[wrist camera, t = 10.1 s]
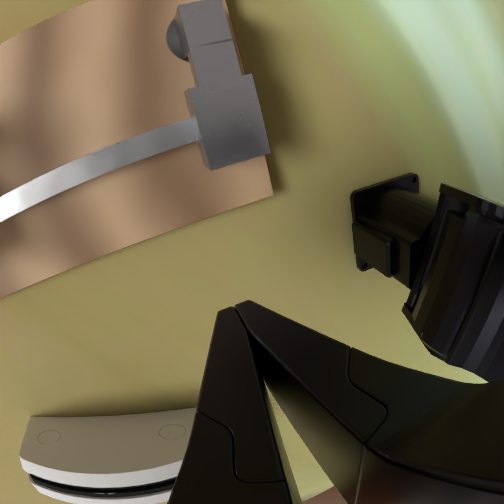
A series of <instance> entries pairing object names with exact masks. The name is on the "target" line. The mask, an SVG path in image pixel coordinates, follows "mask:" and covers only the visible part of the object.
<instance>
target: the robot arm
mask: <svg viewBox="0 0 504 504" xmlns="http://www.w3.org/2000/svg"><path fill="white" fill-rule="evenodd" d="M412 178H413V180H412ZM439 192H440V196H439V200H438V201H437V200H435V199H432V198H430V197H427V196H424V195H422V194H419V181H418V176H417V175H416V174H414V173H408V174H405V175H402V176H399V177H395V178H392V179H389V180H386V181H383V182H380V183H376V184H373V185H370V186H367V187H364V188H361V189H358V190H355V191H353V192H352V193H351V196H350V201H351V210H352V219H353V222H352V231H353V241H354V252H355V254H356V263H357V268H358V269H359V270H361V271H366V270H369V269H371V268H373V267H374V268H375V269H377V270H378V271H379V272H381V273H382V274H383V275H385V276H386V277H388V278H390V277H394V278H395V279H397V280H398V281H399V282H401V283H402V284H403V285H405V286H406V287H407V288H409V289H410V290H411V291H410V294H409V296H408V299H407V302H406V303H404V306H403V308H402V312H403V313H404V315H405V316H406V318H407V319H408V321H409V322H410V324H411V326H412V327H413V329H414V330H415V332H416V333H417V335H418V336H419V338H420V340H421V341H422V343H423V344H424V346H425V347H426V348H427V350H428V351H429V352H430V354H431V355H433V356H435V357H437V358H439V359H441V360H443V361H444V362H446V363H447V364H449V365H452V366H456V367H460V368H463V369H465V370H467V371H470V372H472V373H474V374H476V375H478V376H479V377H481V378H483V379H484V380H486V381H487V382H489V383H484V384H472V383H464V382H459V381H455V380H451V379H447V378H443V377H439V376H436V375H432V374H428V373H424V372H421V371H417V370H414V369H410V368H407V367H403V366H400V365H397V364H394V363H391V362H388V361H385V360H382V359H380V358H377V357H375V356H372V355H369V354H367V353H365V352H362V351H360V350H358V349H355V348H350V346H348V345H346V344H344V343H341V342H339V341H337V340H335V339H332V338H330V337H328V336H326V335H324V334H321V333H319V332H317V331H315V330H313V329H310V328H308V327H306V326H304V325H302V324H300V323H297V322H295V321H293V320H291V319H289V318H287V317H285V316H282V315H280V314H278V313H276V312H274V311H272V310H270V309H268V308H265V307H263V306H261V305H259V304H257V303H255V302H253V301H251V300H247V301H244V302H241V303H239V304H236V305H235V307H228V308H225V309H223V310H220V311H218V313H217V317H216V321H215V325H214V330H213V334H212V339H211V343H210V348H209V352H208V357H207V361H206V366H205V370H204V375H203V379H202V384H201V389H200V393H199V398H198V403H197V407H196V411H197V412H196V413H195V416H194V421H193V426H192V430H191V434H190V438H189V442H188V446H187V449H186V452H185V455H184V458H183V461H182V464H181V467H180V470H179V473H178V475H177V478H176V481H175V483H174V486H173V489H172V492H171V494H170V497H169V500H168V502H167V504H302V501H301V498H300V495H299V492H298V489H297V485H296V482H295V479H294V476H293V473H292V470H291V467H290V463H289V460H288V457H287V454H286V451H285V447H284V444H283V441H282V438H281V435H280V431H279V428H278V425H277V421H276V418H275V415H274V412H273V408H272V405H271V402H270V398H269V395H268V392H267V389H266V386H265V383H266V385H267V387H268V389H269V390H270V392H271V393H272V395H273V397H274V398H275V400H276V401H277V403H278V404H279V406H280V407H281V409H282V410H283V412H284V413H285V415H286V416H287V418H288V419H289V421H290V422H291V424H292V425H293V427H294V428H295V430H296V431H297V433H298V434H299V436H300V437H301V439H302V440H303V442H304V443H305V444H306V446H307V447H308V449H309V450H310V452H311V453H312V455H313V456H314V457H315V459H316V460H317V462H318V463H319V465H320V466H321V467H322V469H323V470H324V472H325V473H326V474H327V476H328V477H329V479H330V480H331V481H332V483H333V484H334V485H335V487H336V488H337V490H338V491H339V492H340V493H341V495H342V496H343V498H344V499H345V500H346V502H347V503H348V504H504V205H502V204H500V203H497V202H495V201H492V200H489V199H487V198H484V197H482V196H479V195H476V194H473V193H470V192H467V191H464V190H461V189H458V188H455V187H452V186H449V185H446V184H443V183H441V185H440V189H439ZM358 195H359V198H358V200H356V197H357V196H358ZM363 264H364V265H363ZM362 265H363V266H362ZM264 382H265V383H264Z"/></svg>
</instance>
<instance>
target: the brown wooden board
mask: <svg viewBox="0 0 504 504" xmlns="http://www.w3.org/2000/svg"><path fill="white" fill-rule="evenodd" d="M195 1H201V0H93V1H90V2H87V3H85V4H82V5H80V6H77V7H75V8H72V9H70V10H67V11H65V12H63V13H60V14H58V15H56V16H54V17H51V18H49V19H47V20H45V21H43V22H41V23H39V24H37V25H35V26H33V27H31V28H29V29H27V30H25V31H23V32H21V33H19V34H18V35H16V36H14V37H12V38H10V39H9V40H7V41H5V42H3V43H2V44H0V197H1V196H2V195H4V194H6V193H8V192H10V191H12V190H13V189H15V188H17V187H19V186H21V185H23V184H25V183H27V182H29V181H31V180H33V179H35V178H37V177H39V176H41V175H43V174H45V173H47V172H49V171H51V170H53V169H55V168H58V167H60V166H62V165H64V164H66V163H68V162H71V161H73V160H75V159H78V158H80V157H82V156H85V155H87V154H89V153H92V152H94V151H97V150H99V149H101V148H104V147H106V146H109V145H112V144H114V143H117V142H119V141H122V140H125V139H127V138H130V137H133V136H136V135H138V134H141V133H144V132H147V131H150V130H153V129H156V128H159V127H162V126H165V125H168V124H171V123H174V122H177V121H181V120H184V119H187V118H191V117H190V114H189V110H188V106H187V103H186V99H185V95H184V92H185V91H186V90H187V89H188V88H192V87H196V86H195V82H194V78H193V74H192V71H191V67H190V63H189V59H188V58H186V59H184V57H183V54H182V50H181V46H180V42H179V38H178V34H177V31H176V27H175V23H174V17H175V13H176V10H177V7H178V5H180V4H185V3H190V2H195ZM222 3H223V7H224V10H225V14H226V18H227V21H228V25H229V29H230V33H231V36H232V40H233V44H234V48H235V51H236V55H237V59H238V63H239V67H240V71H241V75H245V72H244V68H243V64H242V60H241V56H240V53H239V49H238V45H237V41H236V37H235V34H234V30H233V26H232V22H231V19H230V15H229V11H228V8H227V4H226V1H225V0H222ZM273 195H274V194H273V190H272V185H271V181H270V176H269V172H268V167H267V163H266V159H265V155H263V156H259V157H256V158H252V159H249V160H246V161H242V162H239V163H235V164H232V165H229V166H226V167H222V168H219V169H216V170H213V171H210V170H209V169H208V168H207V167H205V166H204V164H203V160H202V157H201V153H200V150H199V146H198V143H197V141H195V142H192V143H189V144H186V145H183V146H179V147H176V148H173V149H170V150H167V151H164V152H161V153H158V154H156V155H153V156H150V157H147V158H144V159H141V160H139V161H136V162H133V163H131V164H128V165H125V166H123V167H120V168H117V169H115V170H112V171H110V172H107V173H105V174H102V175H100V176H97V177H95V178H92V179H90V180H88V181H85V182H83V183H81V184H78V185H76V186H74V187H71V188H69V189H67V190H65V191H62V192H60V193H58V194H56V195H54V196H51V197H49V198H47V199H45V200H43V201H41V202H39V203H37V204H35V205H33V206H31V207H29V208H27V209H25V210H23V211H21V212H19V213H17V214H15V215H13V216H11V217H9V218H7V219H5V220H3V221H1V222H0V298H2V297H4V296H6V295H9V294H11V293H13V292H16V291H18V290H20V289H23V288H25V287H27V286H30V285H32V284H34V283H37V282H39V281H41V280H44V279H46V278H49V277H51V276H53V275H56V274H58V273H61V272H63V271H66V270H68V269H71V268H73V267H75V266H78V265H80V264H83V263H85V262H88V261H91V260H93V259H96V258H98V257H101V256H103V255H106V254H108V253H111V252H114V251H116V250H119V249H122V248H124V247H127V246H129V245H132V244H135V243H137V242H140V241H143V240H145V239H148V238H151V237H154V236H156V235H159V234H162V233H165V232H167V231H170V230H173V229H176V228H178V227H181V226H184V225H187V224H190V223H193V222H195V221H198V220H201V219H204V218H207V217H210V216H213V215H216V214H219V213H222V212H225V211H227V210H230V209H233V208H236V207H239V206H242V205H245V204H248V203H251V202H255V201H258V200H261V199H264V198H267V197H270V196H273Z"/></svg>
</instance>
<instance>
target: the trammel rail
mask: <svg viewBox="0 0 504 504" xmlns="http://www.w3.org/2000/svg"><path fill="white" fill-rule="evenodd" d="M174 23H175V27H176V31H177V34H178V38H179V42H180V46H181V50H182V54H183V57H184V59H186V58H188V59H189V63H190V67H191V71H192V74H193V78H194V82H195V86H196V87H192V88H188V89H187V90H186V91H185V92H184V95H185V99H186V103H187V106H188V110H189V114H190V117H191V118H187V119H184V120H181V121H177V122H174V123H171V124H168V125H165V126H162V127H159V128H156V129H153V130H150V131H147V132H144V133H141V134H138V135H136V136H133V137H130V138H127V139H125V140H122V141H119V142H117V143H114V144H112V145H109V146H106V147H104V148H101V149H99V150H97V151H94V152H92V153H89V154H87V155H85V156H82V157H80V158H78V159H75V160H73V161H71V162H68V163H66V164H64V165H62V166H60V167H58V168H55V169H53V170H51V171H49V172H47V173H45V174H43V175H41V176H39V177H37V178H35V179H33V180H31V181H29V182H27V183H25V184H23V185H21V186H19V187H17V188H15V189H13V190H12V191H10V192H8V193H6V194H4V195H2V196H1V197H0V222H1V221H3V220H5V219H7V218H9V217H11V216H13V215H15V214H17V213H19V212H21V211H23V210H25V209H27V208H29V207H31V206H33V205H35V204H37V203H39V202H41V201H43V200H45V199H47V198H49V197H51V196H54V195H56V194H58V193H60V192H62V191H65V190H67V189H69V188H71V187H74V186H76V185H78V184H81V183H83V182H85V181H88V180H90V179H92V178H95V177H97V176H100V175H102V174H105V173H107V172H110V171H112V170H115V169H117V168H120V167H123V166H125V165H128V164H131V163H133V162H136V161H139V160H141V159H144V158H147V157H150V156H153V155H156V154H158V153H161V152H164V151H167V150H170V149H173V148H176V147H179V146H183V145H186V144H189V143H192V142H195V141H197V143H198V146H199V150H200V153H201V157H202V160H203V164H204V166H205V167H207V168H208V169H209V170H210V171H213V170H216V169H219V168H222V167H226V166H229V165H232V164H235V163H239V162H242V161H246V160H249V159H252V158H256V157H259V156H263V155H267V154H270V153H271V151H270V147H269V142H268V138H267V134H266V129H265V125H264V121H263V117H262V112H261V108H260V104H259V100H258V96H257V92H256V88H255V84H254V80H253V76H252V74H247V75H241V71H240V67H239V63H238V59H237V55H236V51H235V48H234V44H233V40H232V36H231V33H230V29H229V25H228V21H227V18H226V14H225V10H224V7H223V3H222V0H201V1H195V2H190V3H185V4H180V5H178V7H177V10H176V13H175V17H174Z"/></svg>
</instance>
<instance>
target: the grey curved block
mask: <svg viewBox="0 0 504 504" xmlns="http://www.w3.org/2000/svg"><path fill="white" fill-rule="evenodd" d="M196 412H197V411H196V407H194V408H187V409H180V410H171V411H163V412H153V413H142V414H130V415H115V416H93V417H36V416H30V420H29V423H28V426H27V429H26V432H25V435H24V439H23V442H22V446H21V449H20V453H19V456H20V459H21V463H22V467H23V469H24V470H25V471H26V472H28V473H29V480H30V482H31V483H32V484H33V485H34V486H35V488H36V489H37V490H38V491H39V492H40V493H42V494H45V495H47V496H50V497H52V498H55V499H58V500H62V501H65V502H69V503H74V504H156V503H161V502H165V501H168V500H169V497H170V494H171V492H172V489H173V486H174V483H175V481H176V478H177V475H178V473H179V470H180V467H181V464H182V461H183V458H184V455H185V452H186V449H187V446H188V442H189V438H190V434H191V430H192V426H193V421H194V416H195V413H196Z"/></svg>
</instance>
